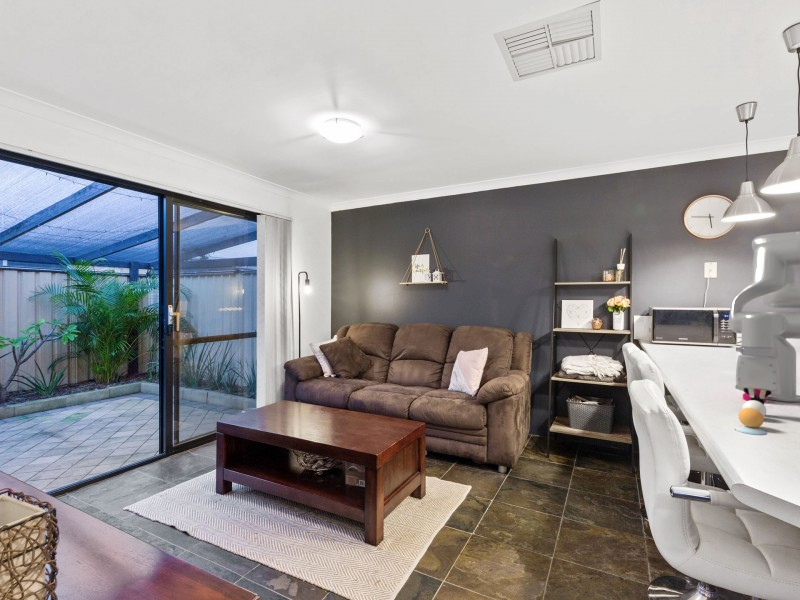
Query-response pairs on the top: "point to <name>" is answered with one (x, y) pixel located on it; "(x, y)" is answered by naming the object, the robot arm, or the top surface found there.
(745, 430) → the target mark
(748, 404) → the cue ball
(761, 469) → the top surface
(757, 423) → the object ball
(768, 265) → the robot arm
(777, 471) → the top surface
